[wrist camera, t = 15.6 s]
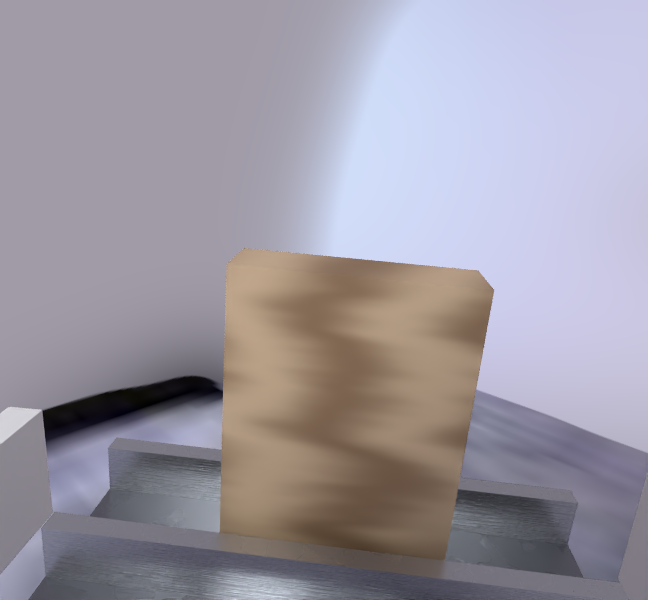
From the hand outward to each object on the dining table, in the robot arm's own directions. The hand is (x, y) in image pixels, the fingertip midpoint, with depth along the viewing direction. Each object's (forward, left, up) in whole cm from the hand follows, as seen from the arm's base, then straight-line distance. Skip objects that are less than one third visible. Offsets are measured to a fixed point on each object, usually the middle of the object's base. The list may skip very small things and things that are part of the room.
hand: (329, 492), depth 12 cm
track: (0, -11, -13) cm, 17 cm away
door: (0, -11, -11) cm, 16 cm away
